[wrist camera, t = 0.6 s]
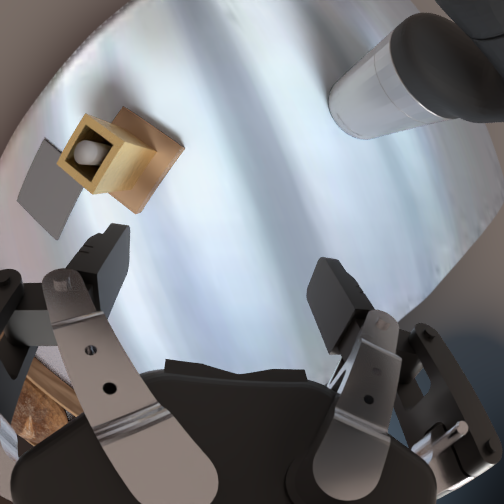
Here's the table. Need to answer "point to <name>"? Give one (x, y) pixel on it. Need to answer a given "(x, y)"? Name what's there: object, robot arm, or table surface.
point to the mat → (49, 191)
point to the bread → (37, 414)
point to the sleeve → (107, 157)
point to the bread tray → (53, 388)
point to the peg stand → (155, 169)
